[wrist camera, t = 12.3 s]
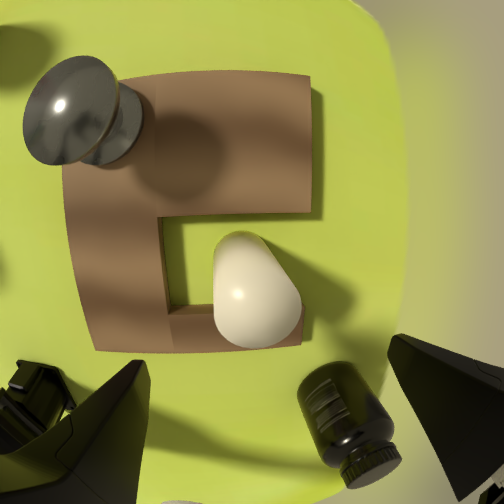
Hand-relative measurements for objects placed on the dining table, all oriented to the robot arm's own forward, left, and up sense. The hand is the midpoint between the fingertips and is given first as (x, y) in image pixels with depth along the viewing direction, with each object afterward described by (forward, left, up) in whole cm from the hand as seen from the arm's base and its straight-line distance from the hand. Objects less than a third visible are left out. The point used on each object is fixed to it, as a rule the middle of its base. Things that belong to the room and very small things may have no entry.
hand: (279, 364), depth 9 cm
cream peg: (0, 0, -12) cm, 12 cm away
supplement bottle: (-14, -8, -12) cm, 20 cm away
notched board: (+3, +4, -12) cm, 13 cm away
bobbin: (+10, +9, -10) cm, 17 cm away
